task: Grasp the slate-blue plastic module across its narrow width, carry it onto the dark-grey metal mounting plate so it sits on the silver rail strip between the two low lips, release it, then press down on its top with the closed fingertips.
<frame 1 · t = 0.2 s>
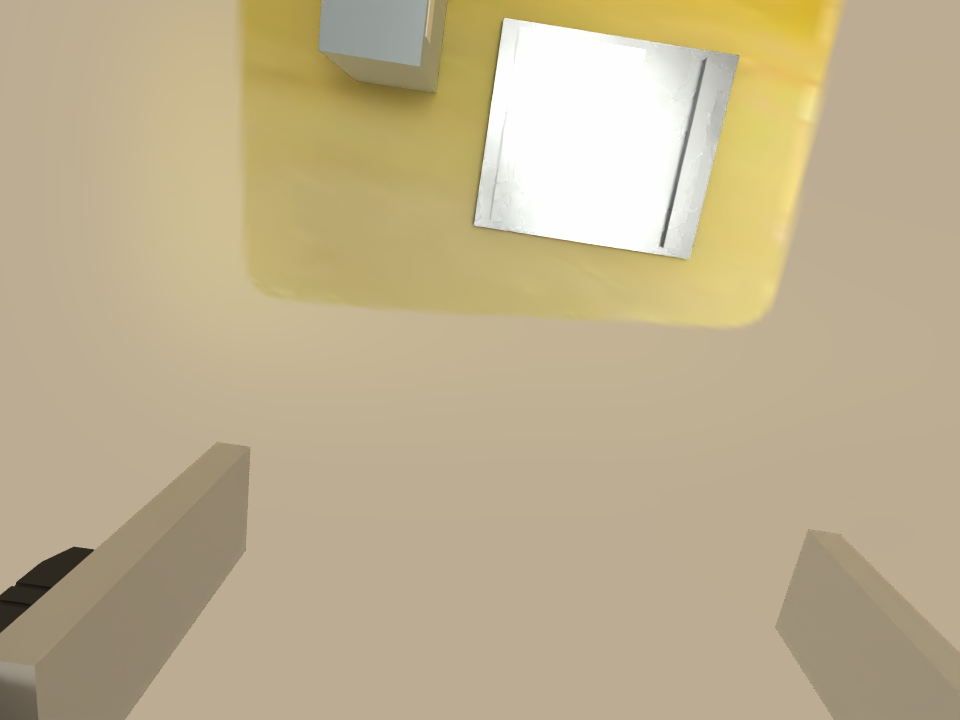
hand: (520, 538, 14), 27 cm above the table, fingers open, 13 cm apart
rail mount: (598, 145, 37), on the table
module: (404, 6, 36), on the table
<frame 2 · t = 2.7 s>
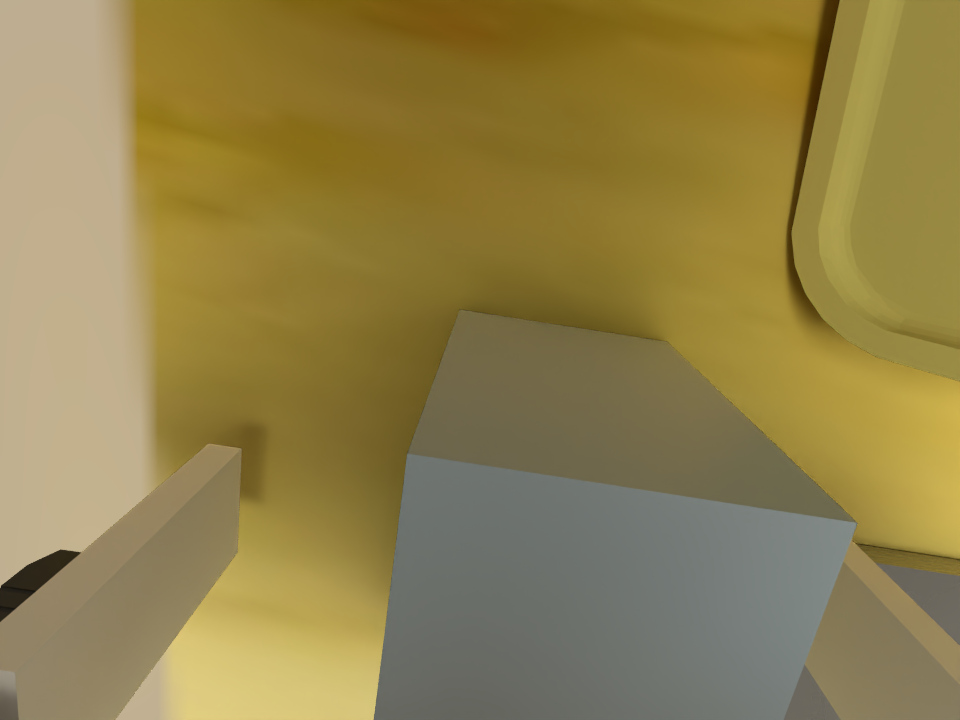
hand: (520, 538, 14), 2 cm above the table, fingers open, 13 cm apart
module: (530, 492, 15), on the table
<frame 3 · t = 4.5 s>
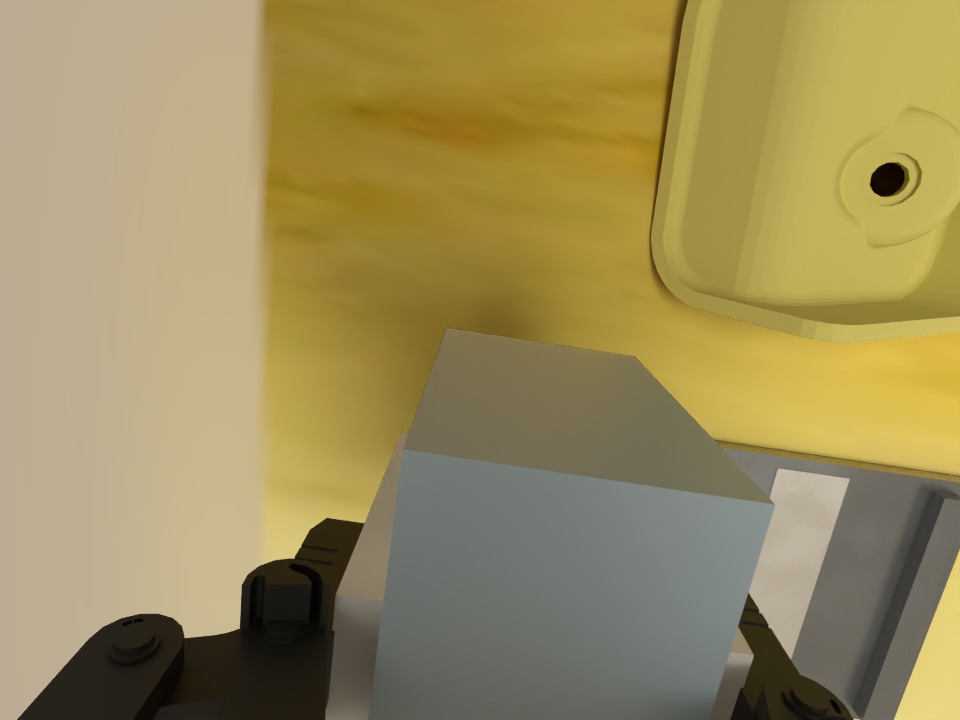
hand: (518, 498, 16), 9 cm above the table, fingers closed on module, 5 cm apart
plastic component: (853, 47, 22), on the table
rail mount: (769, 578, 26), on the table
module: (512, 496, 17), point 8 cm above the table, touching gripper
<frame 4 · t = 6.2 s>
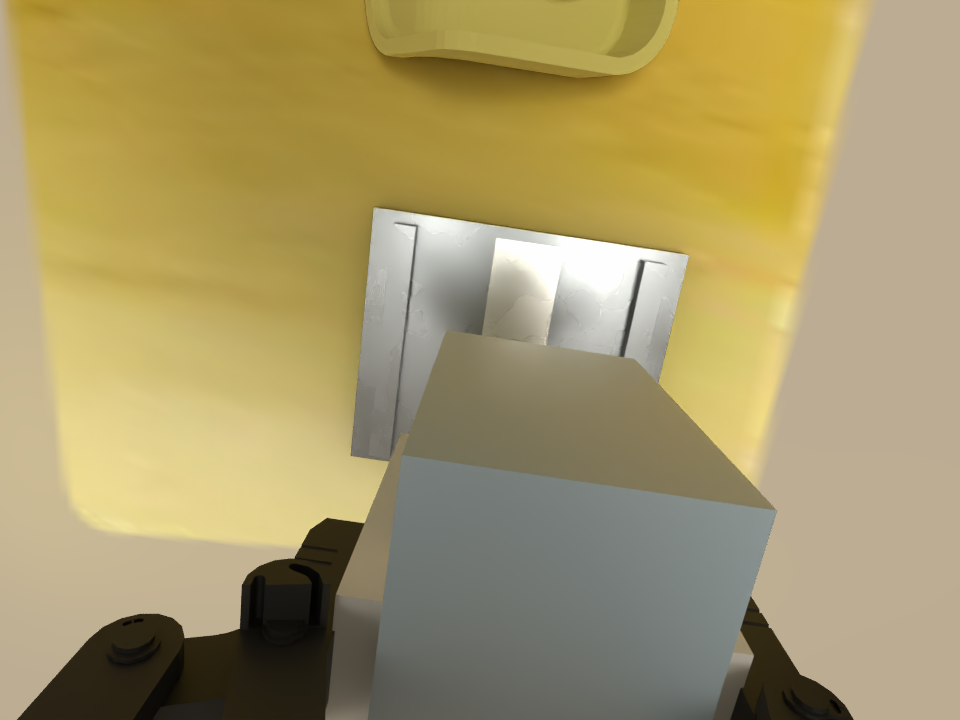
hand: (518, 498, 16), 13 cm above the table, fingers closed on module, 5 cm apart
rail mount: (509, 356, 29), on the table
module: (512, 499, 17), point 13 cm above the table, touching gripper
when the fingers open (2 cm above the table, at t = 8.0 s): module stays where it is, resting on rail mount.
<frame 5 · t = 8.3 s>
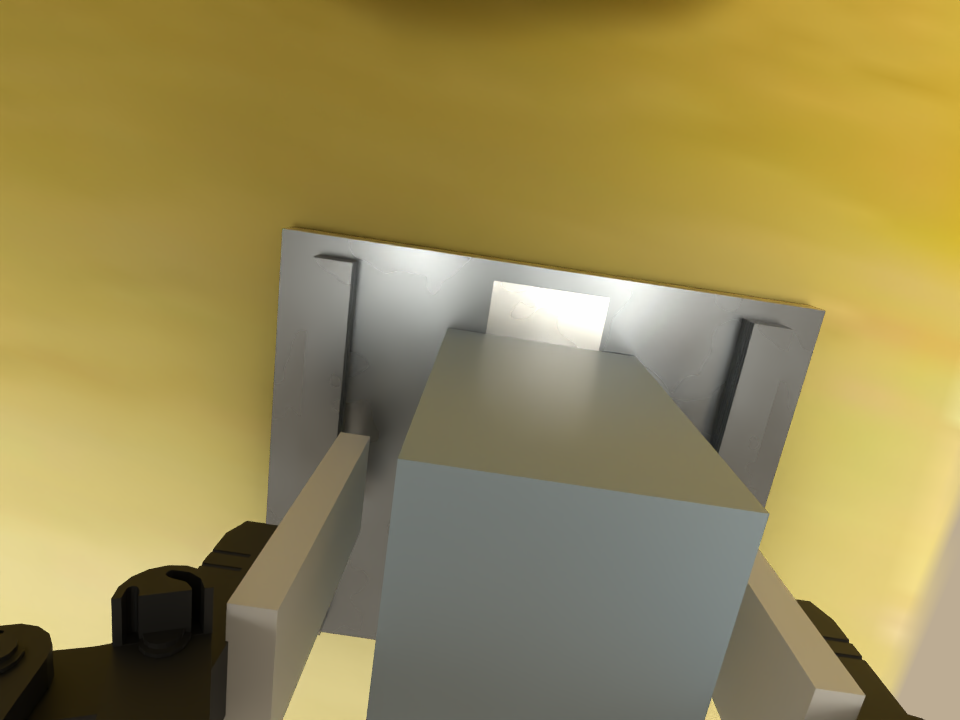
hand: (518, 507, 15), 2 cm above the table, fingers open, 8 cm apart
rail mount: (516, 468, 18), on the table
module: (514, 495, 17), point 1 cm above the table, touching rail mount
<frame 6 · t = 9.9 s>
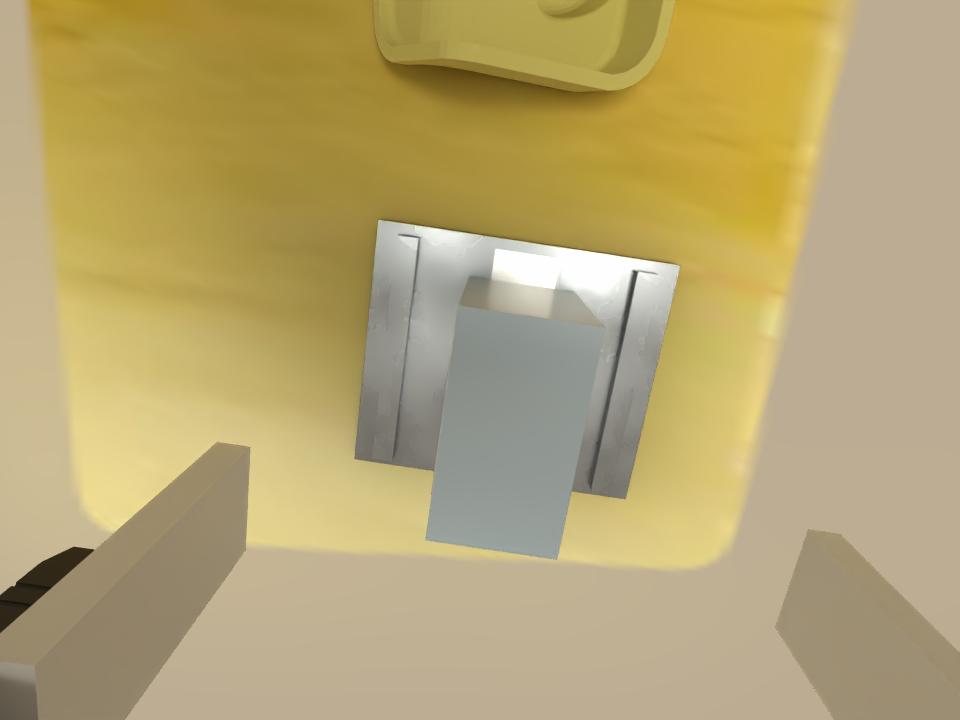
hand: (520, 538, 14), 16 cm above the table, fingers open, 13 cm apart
rail mount: (508, 363, 30), on the table
module: (507, 375, 29), point 1 cm above the table, touching rail mount
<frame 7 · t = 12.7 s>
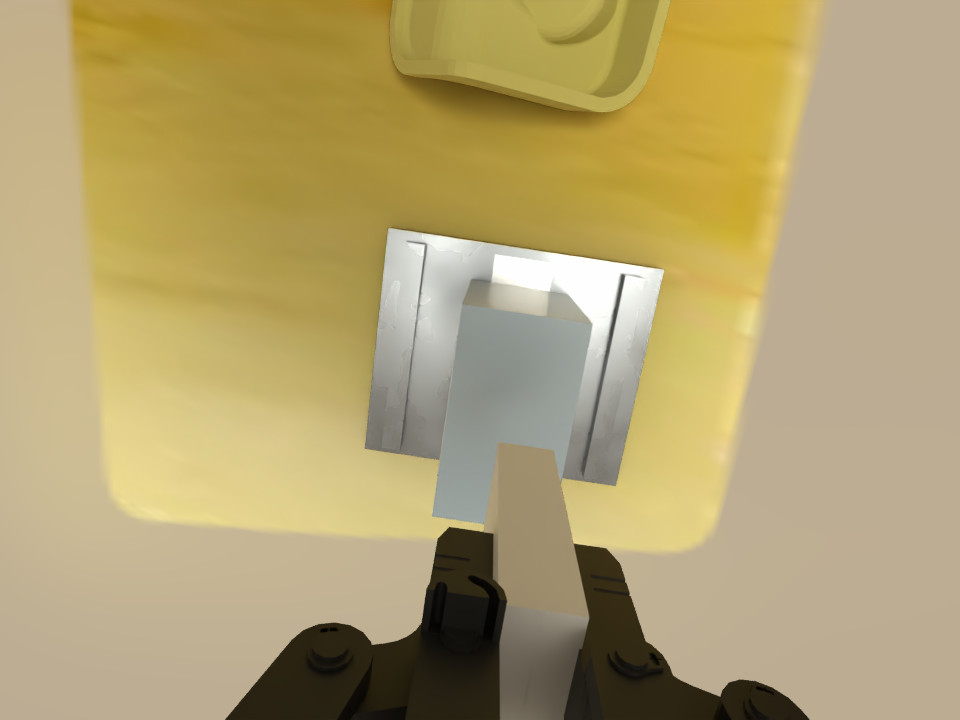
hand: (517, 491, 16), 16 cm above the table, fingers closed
rail mount: (507, 359, 32), on the table
module: (506, 371, 31), point 1 cm above the table, touching rail mount
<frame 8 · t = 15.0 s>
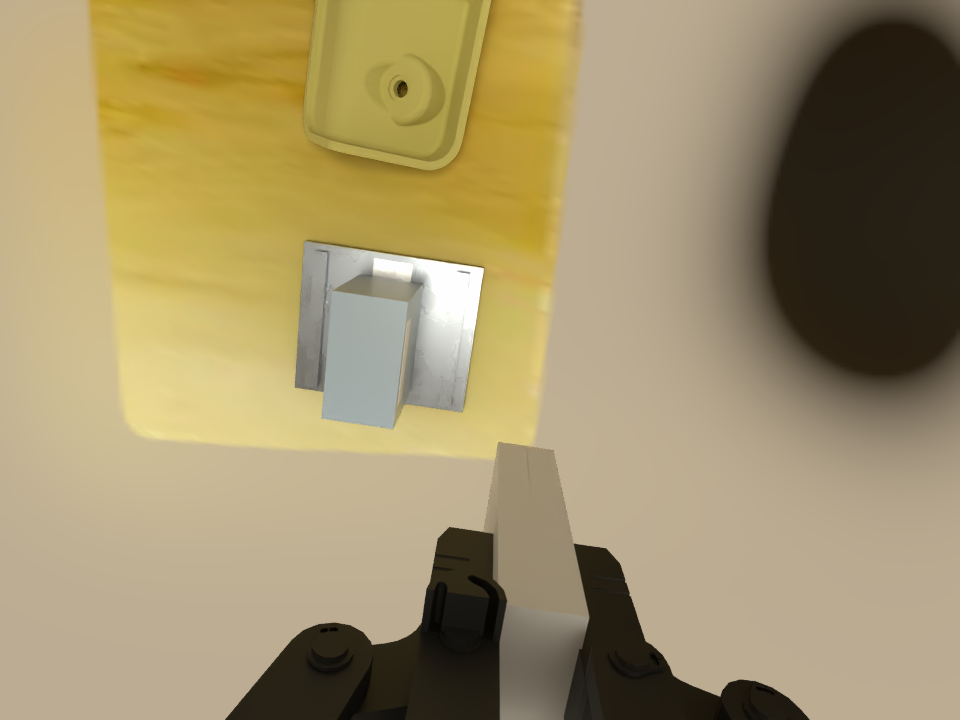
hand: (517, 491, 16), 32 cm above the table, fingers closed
plastic component: (410, 24, 43), on the table
rail mount: (388, 327, 48), on the table
module: (385, 334, 48), point 1 cm above the table, touching rail mount
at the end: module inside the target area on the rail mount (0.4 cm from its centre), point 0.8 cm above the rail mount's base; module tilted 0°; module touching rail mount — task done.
